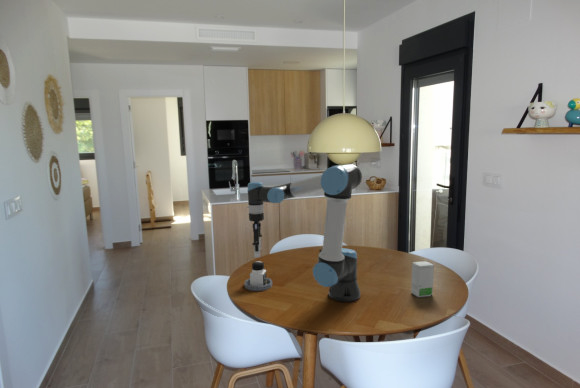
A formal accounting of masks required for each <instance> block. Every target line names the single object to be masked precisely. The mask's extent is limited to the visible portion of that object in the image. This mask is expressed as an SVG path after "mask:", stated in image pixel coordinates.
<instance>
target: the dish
mask: <svg viewBox="0 0 580 388" xmlns="http://www.w3.org/2000/svg"><path fill="white" fill-rule="evenodd" d="M244 287H245V289H246V290H248V291H250V292H251V291H254V292H261V291H267V290H269V289H271V288H272V287H273V280H272V278H270V277H267V282H266V284H265V286H250V278H247V279H246V280H245V281H244Z"/></svg>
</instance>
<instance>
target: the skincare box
mask: <svg viewBox="0 0 580 388" xmlns="http://www.w3.org/2000/svg"><path fill="white" fill-rule="evenodd" d="M411 264H412V268H411V287H410V288H411V289H410V291H411V294H413V295H414V296H415V297H417V298H424V297H432V296H433V291H434V290H433V289H434V288H433V287H434V272H435V271H434V268H435V264H432V263H431V262H428V261H414V262H412V263H411ZM431 295H432V296H431Z"/></svg>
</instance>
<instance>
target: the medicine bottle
mask: <svg viewBox="0 0 580 388" xmlns="http://www.w3.org/2000/svg"><path fill="white" fill-rule="evenodd" d="M251 270H252V271H251V272H250V273H249V279H250V286H265V284H266V282H267V278H268V277H267V269H265V263H264V262H262V261H258V260H257V261H254V262H252V264H251Z"/></svg>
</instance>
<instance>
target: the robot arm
mask: <svg viewBox="0 0 580 388" xmlns="http://www.w3.org/2000/svg"><path fill="white" fill-rule="evenodd" d="M362 175H363V174H362V171H361V169H360V168H359V167H358V166H356V165H355V164H352V163H345V164H339V165H332V166H331V167H328V168H327V169H325V170H324V171H323V172H322V174H321V175H318V176H314V177H309V178H305V179H301V180H297V181H293V182H288V183H285V184H280V185H279V184H278V185H275V186H264V185H263V182H262V181H250V182H249V183H248V184H247V201H248V203H247V204H248V206H247V208H246V209H248V219H249V222H252V229H253V230H252V232H253V242H252V246H253V257H254V258H260V257H261V251H260V250H262V239H261V237H262V236H263V235H262V234H261V227H262V224H261V222H262V221H264V219H265V216H264V215H265V213H264V206H265V205H264V203H271V204H280V203H282V201H284V200H288V199H292V198H296V197H301V196H306V195H310V194H315V193H320V192H324V193H323V195H324V197H325V199H326V200H327V201H326V210H325V221H324V232H323V241H322V243H323V244H322V250H321V251H320V252H319V253H318V259H317V263H316V264H314V265H313V268H312V275H313V278H314V280H315V281H316V282H317V283H318V285H320V286H322V287H325V288H329V289H328V297H330V299H332V300H333V301H336V302H344V303H350V302H354V301H357V300H359V299H360V298H361V290H360V287H359V283H358V253H357V251H356V250H354V249H351V248H345V247H343V244H344V243H343V242H344V233H345V225H346V214H347V204H348V201H350V200H351V198H352V191H353V190H355V189H356V188H358V186H360V185H361V182H362V179H363V176H362Z"/></svg>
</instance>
